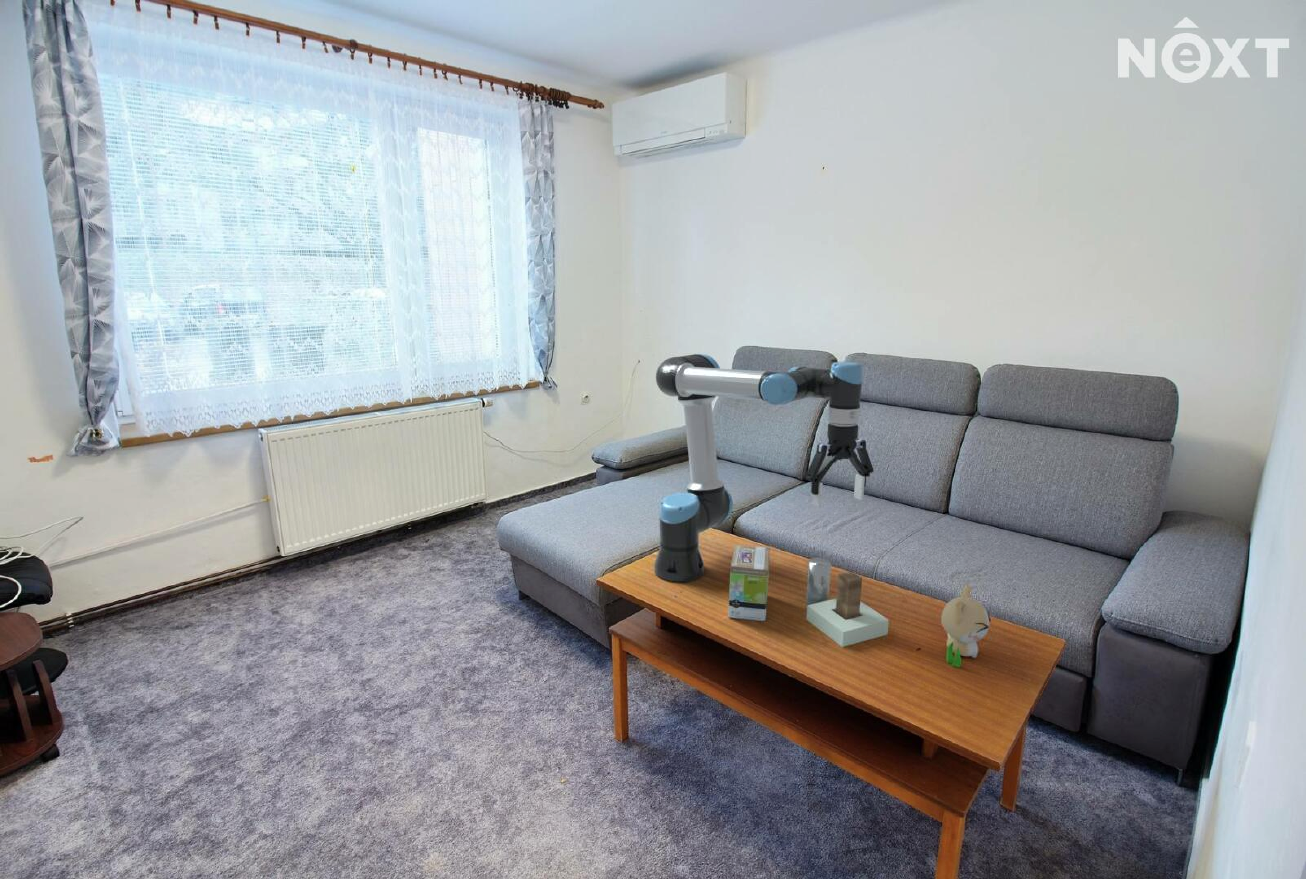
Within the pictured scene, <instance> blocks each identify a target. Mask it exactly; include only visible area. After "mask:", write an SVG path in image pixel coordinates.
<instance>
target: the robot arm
mask: <svg viewBox="0 0 1306 879" xmlns="http://www.w3.org/2000/svg"><path fill="white" fill-rule="evenodd" d="M830 367H831V368H830V369H827V368H817V367H816V368H815V367H813V368H812V367H807V366H794V367H791V368H790V369H789V370H788V371H783V372H782V371H781V372H780V371H766V370H765V371H763V370H747V369H734V368H732V369H731V368H721V366H719V364H718V362H717V361H716V360H715V359H714V358H713V357H712V356H710V355H708V354H704V353H700V354H699V353H698V354H697V353H694V354H688V355H682V356H671V357H669V358H667V359H664V361H662V362H661V363H660V365H659V366H658V367H657V370H656V373H655V382H656V385H657V387H658V389H659V390H660V391H661V392H662V393H663V394H664V395H667V396H668V397H677V402H679V403H680V404H681V405H682V406H683V412H684V413H683V414H684V422H685V423H684V424H685V432H686V442H687V443H686V444H687V452H688V464H689V472H690V482H689V483H688V484H687V486H686V492H679V493H676V492H674V493H671V494H669V495H667V496H665V497H664V498H663V499H662V500H661V502H660V505H659V514H658V515H659V549H658V553H657V554H656V557H655V558H656V559H655V561H654V565H653V567H654V574H655V575H656V576H657V577H658V578H660V579H662V580H666V581H669V582H678V583H681V582H684V583H685V582H691V581H694V580H697V579H700V578H701V577H702V576H703V575H704V572H705V564H704V561H703V557H702V553H701V551H700V549H699V548H700V546H699V537H700V536H699V534H700V533H702V532H705V531H707V530H709V529H712V528H714V527H716V526H719V525H722V523H723V522H725V521H727V520H728V519H729V518H730V516H731V515H732V513H733V509H734V501H733V497H732V495H731V494H730V493H729V490H728V489H726V487H725V483H724V482H723V481H722V480H720V478H719V472H718V471H719V470H718V458H717V450H716V449H717V448H716V440H715V428H714V418H713V406H712V405H713V401H714V400H715V399H716V397H721V398H722V397H723V398H729V399H730V398H731V399H741V400H742V399H744V400H752V401H753V400H754V401H761V402H762V401H763V402H766V403H768V404H770V405H773V406H777V405H785V404H788V403H792V402H795V401H800V400H802V399H803V400H805V399H806V398H818V399H825V400H826V399H828V400H829V402H828V403H829V404H828V416H827V421H828V422H829V423H828V424H827V431H826V432H827V434H826V435H827V438H828V442H827V444H824V443H820V442H819V443H818V444H817V445H816V452H815V455H814V456H813V459H812V461H811V463H810V465H809V467H808V469H807V471H806V474H805V477H804V478H805V480H807V481H810V482H811V486H810V487H811V488H810V493H811V494H812V506H814V507H817V508H818V509H819V508H822V503H823V502H822V500H823V485H824V484H823V482H822V480H823V479H824V477H825V475H826V474H827V472H829V470H830V468H832V466H833V464H836V462H837V461H842V460H849V462H850V464H851V465H852V466H853V467H854V469H855V470H856V472H857V474H855V476H854V477H855V478H854V480H855V481H854V491H853V498H854V499H857V500H858V501H864V494H865V492H864V491H865V488H866V485H867V478H868V477H870V476H871V474H873V473H874V467H873V464H872V461H871V458H870V455H869V452H868V450H867V441H866V440H865V439H861V438H859V428H860V427H859V425H858V423H859V422H860V409H861V398H862V397H861V396H862V385H863V367H862V364H859V363H858V362H851V361H849V362H848V361H847V362H845V361H839V362H833V363H832V364H831V366H830ZM855 450H856V451H855ZM856 452H857V453H856Z"/></svg>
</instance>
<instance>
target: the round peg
mask: <svg viewBox="0 0 1306 879" xmlns="http://www.w3.org/2000/svg"><path fill="white" fill-rule="evenodd" d="M807 568H808V569H807V582H806V584H807V585H806V598H805V603H806V605H811V604H815V603H819V602H823V601H827V600H829V595H830V594H829V593H830V586H831V584H830V583H831V582H830V581H831V568H832V562H831V561H830V560H829V559H827V558H824V557H812V558H809V560H808V567H807Z"/></svg>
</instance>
